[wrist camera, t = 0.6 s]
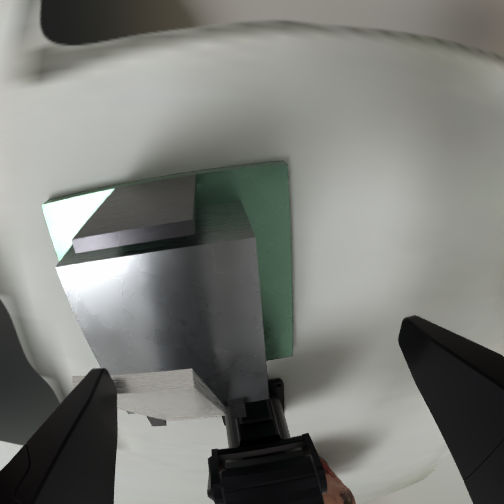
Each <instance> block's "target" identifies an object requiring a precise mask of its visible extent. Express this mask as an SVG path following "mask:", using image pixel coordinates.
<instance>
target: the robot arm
mask: <svg viewBox="0 0 504 504" xmlns="http://www.w3.org/2000/svg"><path fill="white" fill-rule="evenodd" d="M398 342H399V346H400V348H401V350H402V353H403V355H404V357H405V360H406V362H407V364H408V367H409V369H410V372H411V374H412V377H413V379H414V381H415V383H416V385H417V387H418V389H419V391H420V393H421V395H422V396H423V398H424V400H425V402H426V404H427V406H428V408H429V410H430V412H431V414H432V416H433V418H434V420H435V422H436V424H437V425H438V427H439V429H440V431H441V434H442V436H443V438H444V440H445V442H446V444H447V446H448V448H449V450H450V452H451V454H452V456H453V458H454V460H455V463H456V465H457V467H458V469H459V471H460V474H461V476H462V478H463V480H464V483H465V485H466V488H467V490H468V492H469V495H470V497H471V499H472V502H473V504H504V357H503V355H501V354H498V353H496V352H494V351H492V350H490V349H488V348H486V347H483V346H481V345H479V344H477V343H475V342H473V341H471V340H468V339H466V338H464V337H462V336H460V335H458V334H455V333H453V332H451V331H449V330H447V329H444V328H442V327H440V326H438V325H436V324H434V323H431V322H429V321H427V320H425V319H423V318H420V317H418V316H416V315H413V316H410V317H406V318H404V319H403V321H402V325H401V329H400V333H399V337H398ZM268 392H269V399H265V400H260V401H254V402H247V403H244V404H245V410H246V415H247V417H242V418H235V419H232V416H231V413H230V408H229V405H227V406H225V407H226V412H227V415H224V416H222V419H223V422H224V425H225V426H226V429H227V437H228V445H229V448H227V449H212V456H211V457H210V458H208V465H209V480H208V489H207V494H208V497H209V498H210V499H212V500H213V501H214V502H215V504H325V503H324V499H323V494H326V493H327V480H326V475H325V471H324V468H323V465H322V462H321V460H320V458H319V456H318V453H317V451H316V449H315V447H314V445H313V442H312V440H311V438H310V436H309V434H308V433H306V434H302V435H301V436H297V437H292V438H291V437H290V434H289V430H288V427H287V423H286V419H285V416H284V384H283V380H281V379H276V380H270V381H268ZM117 431H118V429H117V388H116V385H115V383H114V382H113V380H112V378H111V376H110V374H109V372H108V371H107V369H106V368H93V369H92V370H91V371H90V372H89V373H88V374H87V375H86V376H85V377H84V378H83V379H82V380H81V382H80V383H79V384H78V385H77V386H76V387H75V388H74V389H73V390H72V391H71V393H70V394H69V395H68V396H67V397H66V398H65V399H64V400H63V401H62V403H61V404H60V405H59V406H58V407H57V408H56V409H55V410H54V412H53V413H52V414H51V415H50V416H49V417H48V418H47V420H46V421H45V422H44V423H43V424H42V425H41V426H40V428H39V429H38V430H37V431H36V432H35V433H34V434H33V436H32V437H31V438H30V439H29V440H28V441H27V443H26V444H25V445H24V446H23V447H22V448H21V449H20V451H19V452H18V453H17V454H16V455H15V456H14V457H13V458H12V460H11V461H10V462H9V463H8V464H7V465H6V466H5V467H4V468H3V469H2V470H1V471H0V504H114V481H115V464H116V450H117Z"/></svg>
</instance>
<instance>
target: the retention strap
mask: <svg viewBox="0 0 504 504" xmlns="http://www.w3.org/2000/svg"><path fill="white" fill-rule="evenodd" d="M110 376H111V378H112V380H113V382H114V383H115V385H116V388H117V408H118V409H122V410H125V411H129V412H133V413H137V414H141V415H145V416H149V417H153V418H158V419H162V420H167V421H176V420H188V419H199V418H208V417H217V416H224V415H227V412H226V407H225V406H224V405H223V404H222V403H221V401H220V400H219V399H218V398H217V397H216V396H215V395H214V394H213V392H212V391H211V390H210V389H209V388H208V387H207V386H206V384H205V383H204V382H203V381H202V380H201V379H200V377H199V376H198V375H197V374H196V373H195V371H194V370H193V369H192V368H191V369H182V370H172V371H162V372H150V373H137V374H122V375H110ZM84 377H85V376H73V389H74V388H75V387H76V386H77V385H78V384H79V383H80V382H81V380H82V379H83V378H84Z"/></svg>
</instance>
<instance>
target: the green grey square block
mask: <svg viewBox="0 0 504 504" xmlns="http://www.w3.org/2000/svg"><path fill="white" fill-rule="evenodd" d="M42 208H43V212H44V215H45V219H46V222H47V225H48V229H49V232H50V235H51V238H52V241H53V244H54V247H55V250H56V253H57V256H58V259H59V263H58V264H57V266H56V267H55V268H56V270H57V273H58V276H59V278H60V281H61V283H62V286H63V288H64V291H65V293H66V296H67V298H68V300H69V303H70V305H71V307H72V310H73V312H74V314H75V316H76V318H77V321H78V323H79V325H80V327H81V329H82V331H83V333H84V335H85V338H86V340H87V342H88V344H89V346H90V348H91V350H92V351H93V353H94V355H95V357H96V359H97V361H98V363H99V365H100V367H101V368H106V369H107V371H108V372H109V374H110V375H122V374H137V373H150V372H162V371H172V370H182V369H191V368H192V369H193V370H194V371H195V373H196V374H197V375H198V376H199V377H200V379H201V380H202V381H203V382H204V383H205V384H206V386H207V387H208V388H209V389H210V390H211V391H212V392H213V394H214V395H215V396H216V397H217V398H218V399H219V400H220V401H221V403H222V404H223V405H224V406H227V405H229V408H230V413H231V416H232V419H235V418H242V417H247V415H246V410H245V404H244V403H247V402H254V401H260V400H265V399H269V392H268V379H267V367H266V361H268V360H274V359H279V358H284V357H290V356H293V325H292V266H291V232H290V206H289V184H288V165H287V163H286V162H285V161H274V162H264V163H254V164H245V165H237V166H229V167H221V168H213V169H206V170H199V171H192V172H186V173H179V174H173V175H167V176H161V177H155V178H149V179H144V180H138V181H133V182H128V183H123V184H118V185H113V186H108V187H103V188H98V189H94V190H89V191H85V192H80V193H76V194H72V195H67V196H63V197H59V198H55V199H51V200H48V201H46V202H45V203H44V204H42ZM127 413H128V414H134V413H133V412H129V411H127ZM147 418H148V420H149V421H150V423H151V425H152V426H166V420H162V419H158V418H153V417H149V416H147Z"/></svg>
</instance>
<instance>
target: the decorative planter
mask: <svg viewBox="0 0 504 504" xmlns="http://www.w3.org/2000/svg"><path fill="white" fill-rule="evenodd" d="M319 458H320V457H319ZM320 460H321V462H322V465H323V468H324V471H325V475H326V480H327V493H326V494H323V499H324V503H325V504H356V503H355V499H354V496H353V494H352V492H351V491H350V490H349V489H348V488H347V487H346V486H345V485H344V484H343V483H342V481H341V480H340V479H339V478H338V477H337V476H336V475H335V473H334V472H333V471H332V470H331V469H330V468H329V466H328V464H327V462H326V461H325V460H324V459H322V458H320Z"/></svg>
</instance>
